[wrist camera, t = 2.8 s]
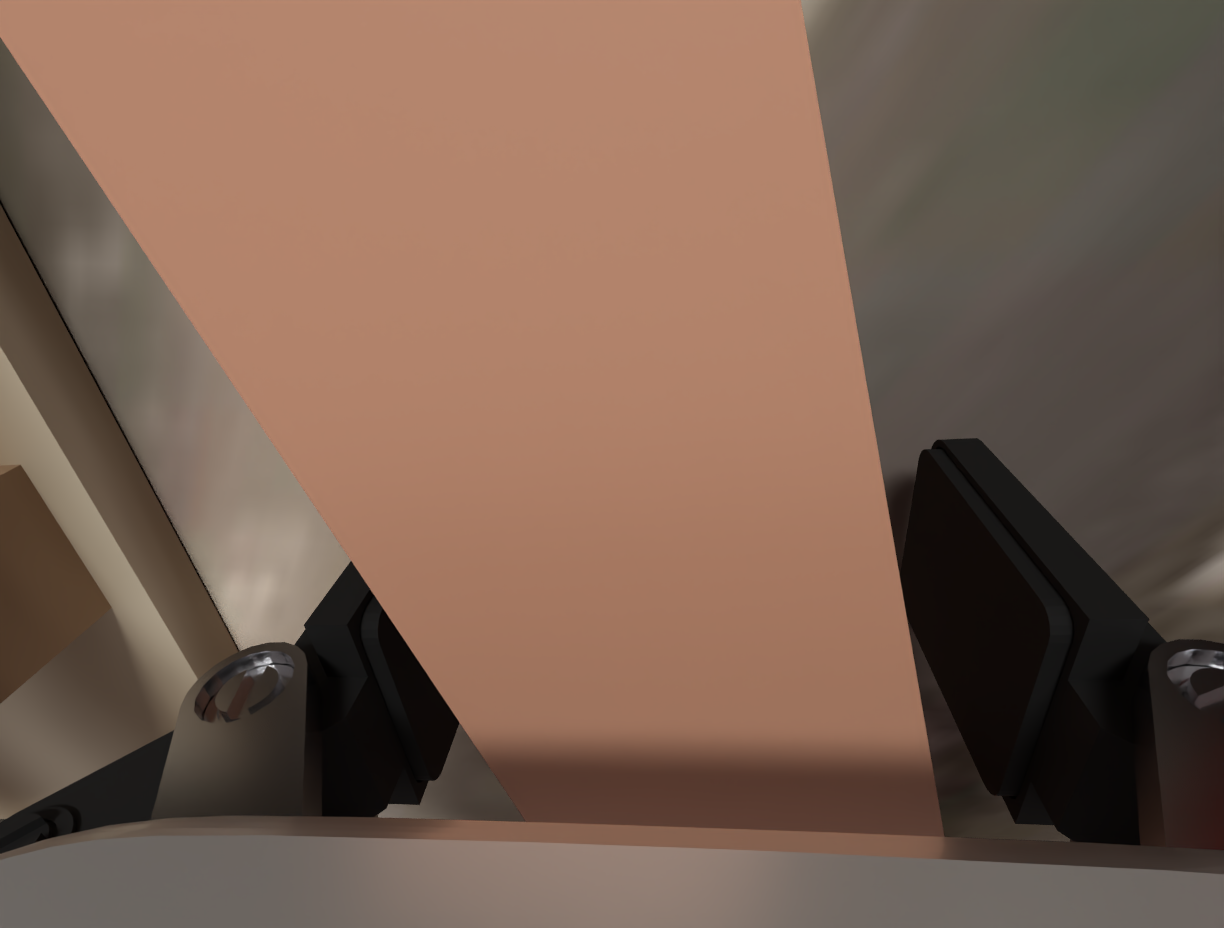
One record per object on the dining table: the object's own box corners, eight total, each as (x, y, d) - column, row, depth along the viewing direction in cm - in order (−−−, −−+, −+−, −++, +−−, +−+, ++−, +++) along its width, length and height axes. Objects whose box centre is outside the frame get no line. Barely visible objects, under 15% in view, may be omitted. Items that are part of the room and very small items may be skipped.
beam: (664, -197, 7) (629, -994, 2) (882, 762, 15) (990, 1103, 10) (346, -29, 8) (-208, -275, 3) (702, 785, 16) (714, 1103, 11)
